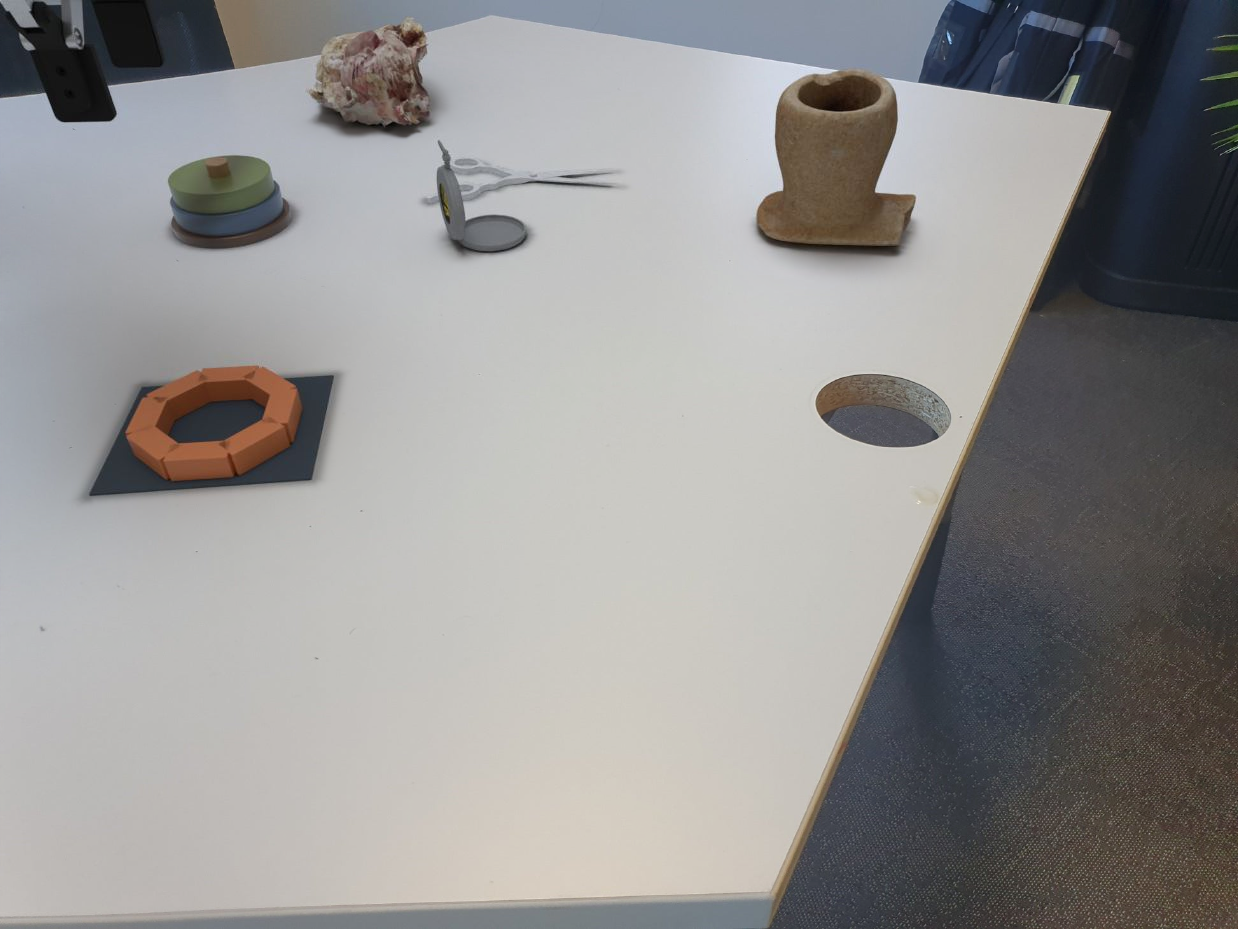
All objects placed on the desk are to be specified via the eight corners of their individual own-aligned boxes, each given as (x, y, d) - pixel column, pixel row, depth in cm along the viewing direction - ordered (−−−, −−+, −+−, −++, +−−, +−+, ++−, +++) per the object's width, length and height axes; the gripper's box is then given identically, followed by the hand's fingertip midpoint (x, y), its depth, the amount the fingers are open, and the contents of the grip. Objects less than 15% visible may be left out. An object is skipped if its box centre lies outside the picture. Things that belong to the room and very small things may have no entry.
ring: (118, 485, 59) (108, 464, 58) (163, 390, 67) (155, 370, 66) (285, 474, 60) (278, 453, 58) (309, 382, 68) (304, 362, 66)
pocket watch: (540, 235, 87) (534, 131, 81) (483, 269, 82) (472, 162, 75) (476, 214, 91) (465, 113, 84) (417, 246, 85) (401, 141, 79)
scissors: (437, 157, 100) (617, 153, 100) (438, 164, 100) (617, 160, 101) (426, 197, 92) (621, 193, 92) (427, 205, 92) (622, 200, 93)
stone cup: (750, 259, 84) (768, 93, 74) (758, 205, 93) (775, 51, 83) (918, 273, 82) (959, 105, 72) (909, 217, 91) (944, 60, 81)
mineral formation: (335, 69, 122) (295, 4, 114) (446, 32, 120) (413, -37, 111) (330, 185, 111) (286, 122, 102) (453, 146, 108) (418, 79, 100)
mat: (90, 498, 58) (88, 494, 58) (143, 390, 67) (141, 386, 67) (312, 482, 60) (310, 478, 59) (334, 379, 69) (333, 374, 68)
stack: (161, 253, 84) (138, 187, 80) (190, 203, 92) (170, 141, 88) (282, 247, 85) (265, 182, 81) (300, 199, 93) (285, 137, 89)
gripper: (-12, -276, 50) (99, 49, 61) (-193, -265, 37) (-10, 147, 48) (129, -274, 51) (213, 48, 62) (-1, -262, 38) (136, 144, 49)
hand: (116, 91), depth 55 cm, fingers open, 9 cm apart
